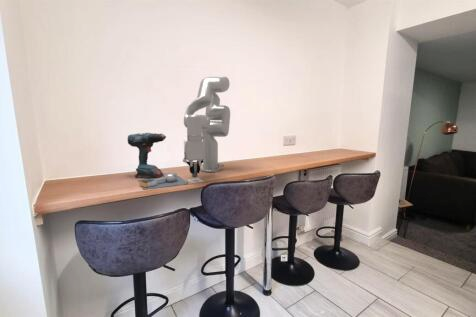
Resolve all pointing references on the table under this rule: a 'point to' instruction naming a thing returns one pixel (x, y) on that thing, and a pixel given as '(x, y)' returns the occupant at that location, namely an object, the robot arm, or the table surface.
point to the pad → (195, 180)
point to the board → (166, 183)
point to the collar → (159, 180)
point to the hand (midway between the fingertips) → (195, 172)
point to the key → (195, 169)
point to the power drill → (145, 153)
